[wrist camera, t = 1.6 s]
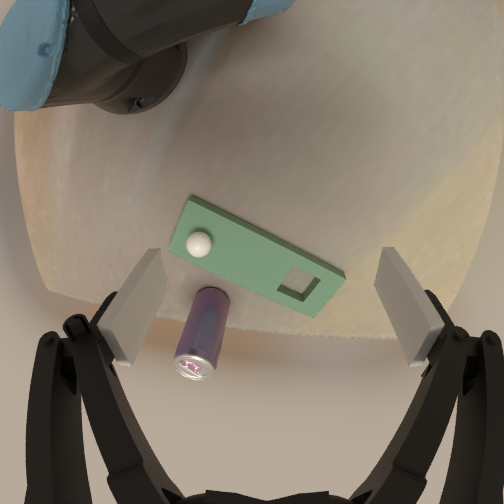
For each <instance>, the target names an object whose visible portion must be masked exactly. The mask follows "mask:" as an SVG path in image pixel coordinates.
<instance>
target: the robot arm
mask: <svg viewBox="0 0 504 504" xmlns="http://www.w3.org/2000/svg"><path fill="white" fill-rule="evenodd" d="M294 1H295V0H17V1H16V2H15V3H14V4H13V6H12V7H11V9H10V10H9V12H8V13H7V15H6V17H5V19H4V20H3V22H2V24H1V26H0V106H1V107H3V108H4V109H5V110H8V111H35V110H37V109H40V108H47V107H54V106H62V105H72V104H84V103H93V104H95V105H96V106H98V107H100V108H101V109H103V110H105V111H107V112H110V113H114V114H135V113H140V112H144V111H146V110H149V109H151V108H153V107H155V106H156V105H158V104H159V103H161V102H162V101H163V100H164V99H165V98H166V97H168V96H169V94H170V93H171V92H172V91H173V90H174V88H175V87H176V86H177V84H178V83H179V81H180V79H181V77H182V74H183V72H184V69H185V65H186V58H187V50H186V45H185V41H187V40H190V39H193V38H195V37H198V36H201V35H204V34H207V33H210V32H213V31H216V30H220V29H223V28H226V27H230V26H234V25H237V26H242V25H245V24H247V23H248V22H249V21H251V20H255V19H259V18H263V17H267V16H272V15H276V14H279V13H282V12H284V11H286V10H287V9H288V8H289V7H290V6H291V5H292V4H293V3H294ZM374 286H375V288H376V290H377V292H378V295H379V297H380V299H381V301H382V303H383V305H384V307H385V310H386V312H387V314H388V316H389V319H390V321H391V323H392V326H393V328H394V330H395V333H396V335H397V337H398V340H399V342H400V345H401V347H402V350H403V352H404V355H405V357H406V360H407V363H408V365H409V367H414V366H419V365H422V364H423V362H424V361H425V359H426V357H427V358H428V360H429V364H428V366H427V367H426V369H425V371H424V372H423V374H422V375H421V377H423V378H422V380H421V383H420V385H419V387H418V389H417V392H416V394H415V396H414V399H413V400H412V403H411V405H410V407H409V409H408V411H407V413H406V415H405V417H404V419H403V421H402V422H401V424H400V426H399V428H398V430H397V432H396V433H395V435H394V437H393V439H392V440H391V442H390V444H389V446H388V447H387V449H386V451H385V452H384V454H383V455H382V457H381V458H380V460H379V461H378V463H377V465H376V466H375V468H374V469H373V471H372V472H371V473H370V475H369V476H368V478H367V479H366V480H365V481H364V482H363V484H361V485H360V487H358V489H357V490H356V491H355V492H354V493H353V494H352V496H351V497H350V498H349V499H345V498H342V497H339V496H335V495H329V491H323V492H313V493H301V494H300V493H299V494H296V495H291V496H288V497H283V498H280V499H275V500H269V501H265V500H260V499H256V498H252V497H248V496H244V495H241V494H237V493H230V492H221V491H212V490H206V493H203V494H197V495H193V496H189V497H186V498H185V497H184V496H183V494H182V493H181V492H180V490H179V489H178V488H177V486H176V485H175V484H174V483H173V482H172V481H171V480H170V478H169V477H168V475H167V474H166V472H165V471H164V469H163V467H162V466H161V464H160V463H159V461H158V459H157V457H156V456H155V454H154V452H153V450H152V449H151V447H150V445H149V443H148V441H147V439H146V438H145V436H144V434H143V432H142V430H141V428H140V426H139V424H138V422H137V420H136V418H135V416H134V413H133V411H132V409H131V407H130V405H129V402H128V400H127V398H126V396H125V393H124V391H123V388H122V386H121V384H120V381H119V379H118V376H117V373H116V371H115V368H114V366H113V364H112V361H113V359H114V357H115V359H116V361H117V362H118V364H119V365H124V366H129V367H132V365H133V363H134V361H135V358H136V356H137V354H138V351H139V349H140V347H141V345H142V343H143V340H144V338H145V336H146V334H147V331H148V329H149V327H150V325H151V323H152V320H153V318H154V316H155V314H156V312H157V310H158V308H159V306H160V304H161V302H162V300H163V297H164V295H165V293H166V291H167V289H168V287H169V283H168V279H167V275H166V271H165V267H164V263H163V259H162V254H161V250H160V248H158V249H148V250H147V252H146V253H145V255H144V256H143V257H142V259H141V260H140V261H139V263H138V264H137V266H136V267H135V268H134V270H133V271H132V273H131V274H130V275H129V277H128V278H127V280H126V281H125V283H124V284H123V285H122V287H121V288H120V290H119V291H118V292H113V293H111V294H110V295H109V296H108V297H107V298H106V299H105V300H104V302H103V303H102V305H101V306H100V308H99V310H98V311H97V312H96V314H95V315H94V317H93V318H92V320H91V321H90V323H89V322H88V320H87V318H86V317H85V315H83V314H76V315H73V316H71V317H69V318H68V319H67V320H66V321H65V322H64V324H63V330H64V332H65V333H66V335H67V337H68V338H60V337H59V335H58V334H57V333H56V332H54V331H50V332H48V333H45V334H44V335H43V336H42V337H41V338H40V340H39V343H38V347H37V352H36V356H35V361H34V367H33V372H32V379H31V385H30V392H29V401H28V411H27V423H26V475H27V490H26V496H25V502H24V504H92V499H91V492H90V487H89V481H88V476H87V469H86V462H85V454H84V444H83V433H82V413H81V395H82V398H83V402H84V405H85V409H86V412H87V415H88V419H89V422H90V425H91V428H92V431H93V434H94V437H95V439H96V442H97V445H98V447H99V450H100V452H101V455H102V457H103V460H104V462H105V464H106V467H107V469H108V472H109V475H108V477H107V483H108V485H109V488H110V490H111V492H112V494H113V496H114V498H115V500H116V502H117V503H118V504H416V502H417V501H418V499H419V498H420V496H421V494H422V492H423V491H424V488H425V486H426V483H427V480H426V478H425V476H426V473H427V471H428V469H429V467H430V465H431V463H432V461H433V459H434V456H435V454H436V452H437V450H438V448H439V445H440V443H441V441H442V438H443V436H444V433H445V431H446V428H447V425H448V423H449V420H450V417H451V414H452V411H453V408H454V405H455V402H456V399H457V395H458V402H457V403H458V404H457V415H456V425H455V434H454V440H453V447H452V453H451V458H450V463H449V468H448V472H447V477H446V481H445V485H444V488H443V492H442V495H441V499H440V503H439V504H503V486H504V355H503V349H502V344H501V340H500V338H499V336H498V335H497V334H496V333H495V332H493V331H491V330H486V331H484V332H483V333H482V335H481V337H480V338H478V337H470V336H469V334H468V333H467V331H465V330H464V329H463V328H461V327H458V326H454V324H453V322H452V321H451V319H450V317H449V316H448V314H447V313H446V311H445V309H443V306H442V305H441V303H440V302H439V300H438V299H437V297H436V295H434V294H433V293H432V292H431V291H430V290H423V288H422V287H421V285H420V284H419V282H418V281H417V279H416V278H415V276H414V275H413V273H412V272H411V270H410V269H409V267H408V266H407V265H406V263H405V262H404V260H403V259H402V258H401V256H400V255H399V254H398V252H397V251H396V249H395V248H394V247H382V252H381V257H380V261H379V266H378V270H377V274H376V279H375V283H374Z"/></svg>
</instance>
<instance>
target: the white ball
mask: <svg viewBox="0 0 504 504" xmlns="http://www.w3.org/2000/svg"><path fill="white" fill-rule="evenodd" d="M211 246H212V243H211V239H210V237H209V236H208V235H207V234H205V233H203V232H194V233H192V234H191V235H190V236H189V237H188V239H187V241H186V248H187V250H188V252H189V253H190V254H191V255H192V256H194V257H203V256H205V255H207V254H208V253H209V251H210V250H211Z"/></svg>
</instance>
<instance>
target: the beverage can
mask: <svg viewBox="0 0 504 504" xmlns="http://www.w3.org/2000/svg"><path fill="white" fill-rule="evenodd" d="M229 305H230V303H229V300H228V298H227V296H226V295H225V294H224V293H223V292H222V291H220V290H218V289H215V288H206V289H203V290H201V291H199V292H198V293H197V295H196V297H195V299H194V302H193V305H192V307H191V310H190V313H189V315H188V318H187V321H186V324H185V326H184V329H183V332H182V335H181V337H180V341H179V343H178V346H177V349H176V352H175V354H174V362H173V365H174V368H175V369H176V370H177V372H179V373H180V374H181V375H183V376H185V377H187V378H189V379H193V380H207V379H210V378H211V377H212V376H213V375H214V372H215V370H216V368H217V364H218V359H219V354H220V349H221V344H222V339H223V335H224V330H225V325H226V320H227V315H228V310H229Z"/></svg>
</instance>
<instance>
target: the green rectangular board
mask: <svg viewBox="0 0 504 504" xmlns="http://www.w3.org/2000/svg"><path fill="white" fill-rule="evenodd" d="M194 232H203V233H205V234H207V235H208V236H209V237H210V239H211V243H212V246H211V250H210V251H209V253H208V254H207V255H205V256H203V257H194V256H192V255H191V254H190V253H189V252H188V250H187V248H186V241H187V239H188V237H189V236H190V235H191V234H192V233H194ZM167 251H168V252H170V253H172V254H174V255H176V256H178V257H180V258H182V259H184V260H186V261H188V262H190V263H193V264H195V265H197V266H199V267H201V268H203V269H205V270H207V271H209V272H211V273H214V274H216V275H218V276H220V277H222V278H224V279H226V280H229V281H231V282H233V283H235V284H237V285H239V286H242V287H244V288H246V289H248V290H250V291H253V292H255V293H257V294H259V295H262V296H264V297H266V298H268V299H271V300H273V301H275V302H277V303H280V304H282V305H284V306H287V307H289V308H291V309H293V310H296V311H298V312H300V313H303V314H305V315H307V316H310V317H312V318H314V317H315V316H316V315H317V314H318V313H319V312H320V310H321V309H322V308H323V307H324V306H325V305H326V303H327V302H328V301H329V300H330V299H331V297H332V296H333V295H334V294H335V293H336V291H337V290H338V289H339V288H340V287H341V285H342V284H343V283H344V282H345V280H346V277H345V275H344V272H342V271H340V270H338V269H337V268H335V267H333V266H331V265H329V264H327V263H325V262H323V261H321V260H319V259H318V258H316V257H314V256H312V255H310V254H308V253H306V252H304V251H302V250H300V249H298V248H296V247H294V246H293V245H291V244H289V243H287V242H285V241H283V240H281V239H279V238H277V237H275V236H273V235H271V234H269V233H267V232H265V231H263V230H261V229H259V228H257V227H255V226H253V225H251V224H249V223H247V222H245V221H243V220H241V219H239V218H237V217H235V216H233V215H231V214H229V213H227V212H225V211H223V210H221V209H219V208H217V207H215V206H213V205H211V204H209V203H207V202H205V201H202V200H200V199H198V198H196V197H194V196H191V197H190V198H189V199H188V201H187V203H186V206H185V208H184V210H183V213H182V215H181V218H180V220H179V222H178V225H177V227H176V230H175V232H174V235H173V237H172V240H171V243H170V245H169V248H168V250H167ZM293 266H294V267H296V268H298V269H300V270H302V271H304V272H306V273H308V274H310V275H312V276H314V277H316V278H315V279H314V280H313V282H312V283H311V284H310V285H309V287H308V288H307V289H306V291H305V292H304V293H303V294H302V295H301V294H299V293H297V292H295V291H293V290H290V289H288V288H286V287H284V286H282V285H280V284H281V283H282V281H283V280H284V279H285V277H286V276H287V274H288V273H289V272H290V270H291V269H292V267H293Z"/></svg>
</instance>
